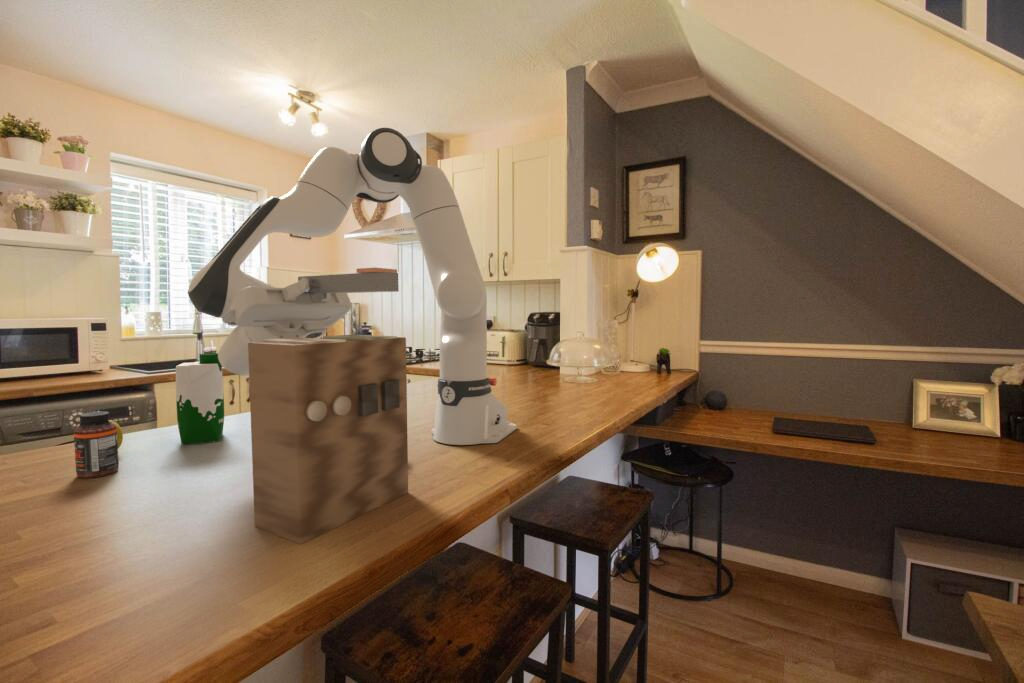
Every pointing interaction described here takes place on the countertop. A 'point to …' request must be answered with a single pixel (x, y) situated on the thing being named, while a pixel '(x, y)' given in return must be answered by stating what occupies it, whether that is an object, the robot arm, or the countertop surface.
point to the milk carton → (200, 400)
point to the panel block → (326, 430)
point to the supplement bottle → (96, 445)
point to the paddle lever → (356, 282)
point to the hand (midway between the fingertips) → (320, 282)
